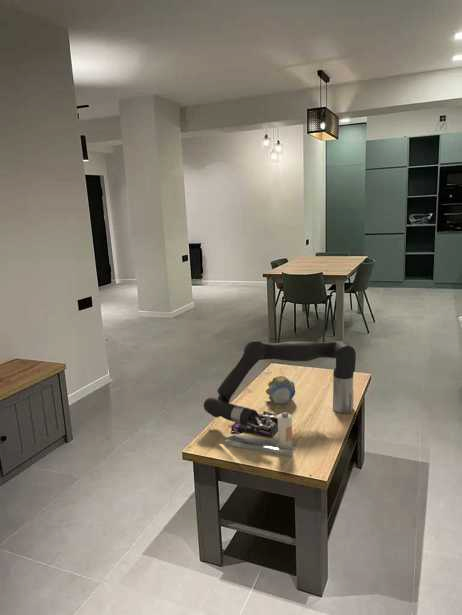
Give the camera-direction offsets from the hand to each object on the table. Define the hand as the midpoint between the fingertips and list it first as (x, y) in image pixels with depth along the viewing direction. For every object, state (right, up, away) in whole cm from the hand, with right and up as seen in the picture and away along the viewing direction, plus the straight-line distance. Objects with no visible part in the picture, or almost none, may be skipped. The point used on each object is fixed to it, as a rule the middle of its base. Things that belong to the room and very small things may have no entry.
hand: (276, 426), depth 187 cm
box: (-7, -7, +19) cm, 21 cm away
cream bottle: (+3, -9, 0) cm, 10 cm away
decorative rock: (+6, 0, +46) cm, 47 cm away
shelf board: (-6, -10, +3) cm, 12 cm away
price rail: (-8, -9, -1) cm, 12 cm away
